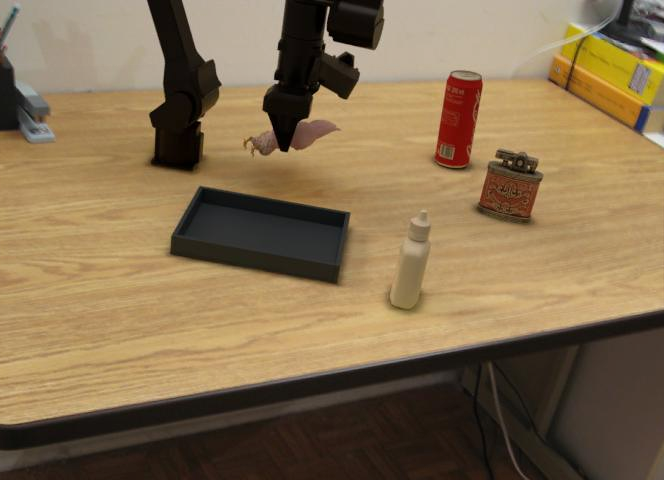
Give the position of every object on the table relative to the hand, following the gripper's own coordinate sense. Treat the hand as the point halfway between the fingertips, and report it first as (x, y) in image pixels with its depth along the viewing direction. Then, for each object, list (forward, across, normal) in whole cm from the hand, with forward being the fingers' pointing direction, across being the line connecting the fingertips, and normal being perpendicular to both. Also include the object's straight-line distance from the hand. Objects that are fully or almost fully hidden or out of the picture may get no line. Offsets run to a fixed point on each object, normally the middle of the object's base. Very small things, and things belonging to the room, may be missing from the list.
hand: (287, 142), depth 125 cm
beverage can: (+7, +21, -25) cm, 34 cm away
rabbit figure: (+2, +1, -1) cm, 2 cm away
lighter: (+7, +4, -33) cm, 34 cm away
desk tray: (+7, -17, 0) cm, 19 cm away
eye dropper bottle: (+7, -25, -19) cm, 32 cm away
